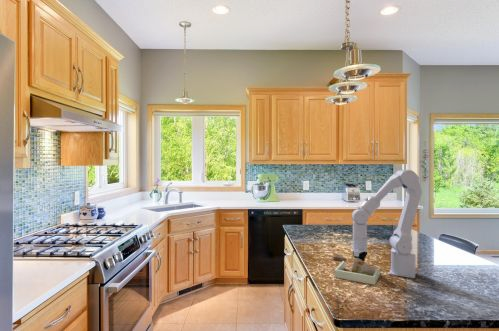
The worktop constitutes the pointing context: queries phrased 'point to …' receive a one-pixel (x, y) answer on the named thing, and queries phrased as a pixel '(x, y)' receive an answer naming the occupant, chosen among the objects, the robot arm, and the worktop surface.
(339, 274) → the beige u-shaped block
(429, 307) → the worktop surface
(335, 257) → the walnut tile
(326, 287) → the worktop surface
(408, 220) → the robot arm
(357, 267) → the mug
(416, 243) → the worktop surface
